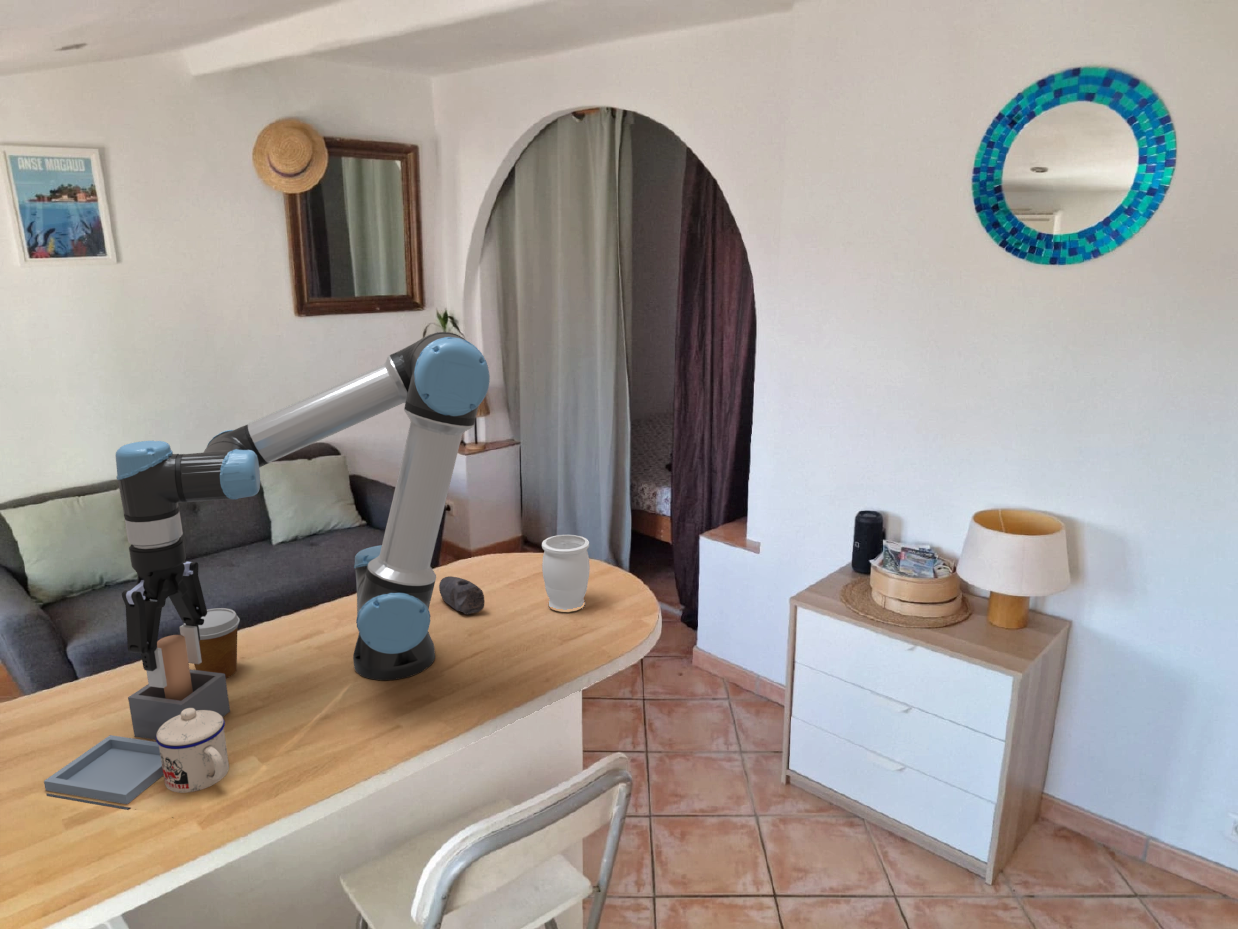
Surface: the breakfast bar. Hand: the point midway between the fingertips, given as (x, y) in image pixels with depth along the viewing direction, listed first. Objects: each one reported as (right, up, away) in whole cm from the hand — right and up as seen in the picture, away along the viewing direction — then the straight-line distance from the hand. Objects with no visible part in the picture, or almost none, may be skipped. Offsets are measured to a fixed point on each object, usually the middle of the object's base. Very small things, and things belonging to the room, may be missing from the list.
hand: (176, 673), depth 135 cm
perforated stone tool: (+37, +2, +49) cm, 61 cm away
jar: (+60, +2, +50) cm, 78 cm away
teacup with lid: (+10, -14, -11) cm, 21 cm away
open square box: (0, -10, +3) cm, 10 cm away
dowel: (0, -9, +2) cm, 9 cm away
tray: (-3, -13, -10) cm, 17 cm away
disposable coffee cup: (-2, -6, +19) cm, 20 cm away
